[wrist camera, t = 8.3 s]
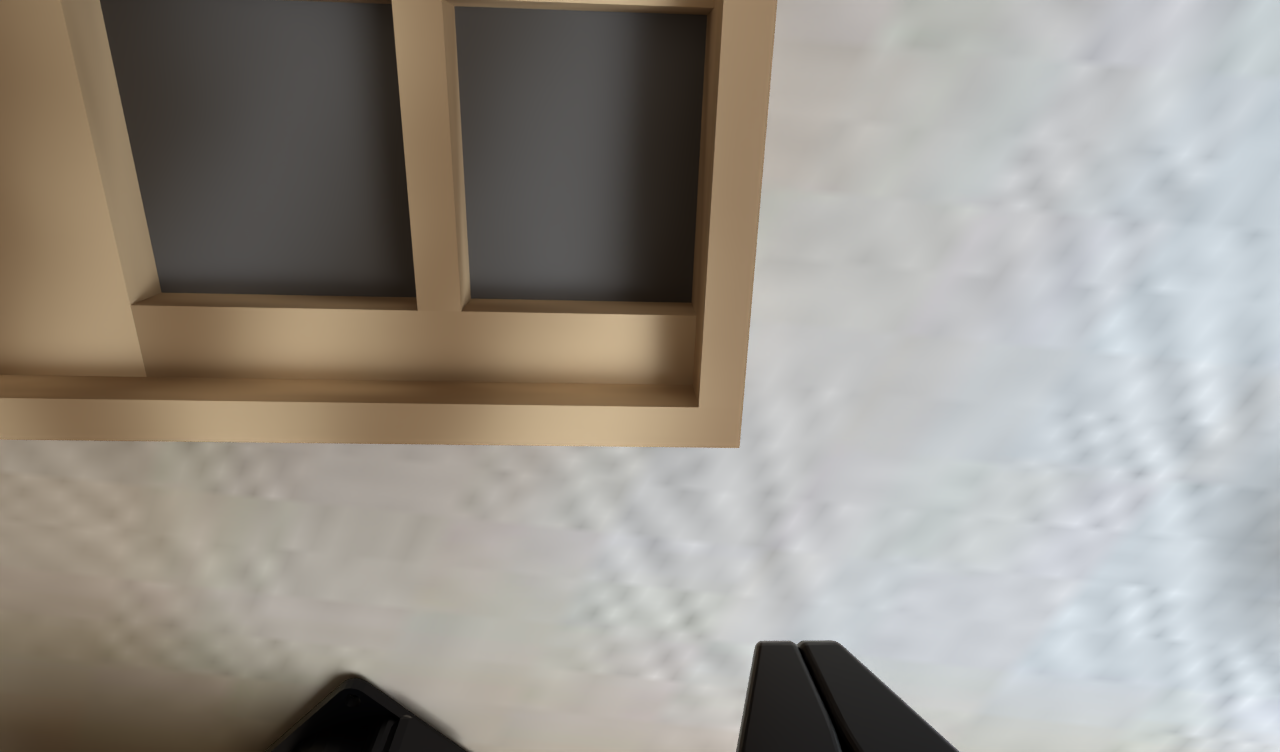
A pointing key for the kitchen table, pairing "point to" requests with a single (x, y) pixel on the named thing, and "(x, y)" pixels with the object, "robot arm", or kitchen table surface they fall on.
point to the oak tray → (380, 220)
